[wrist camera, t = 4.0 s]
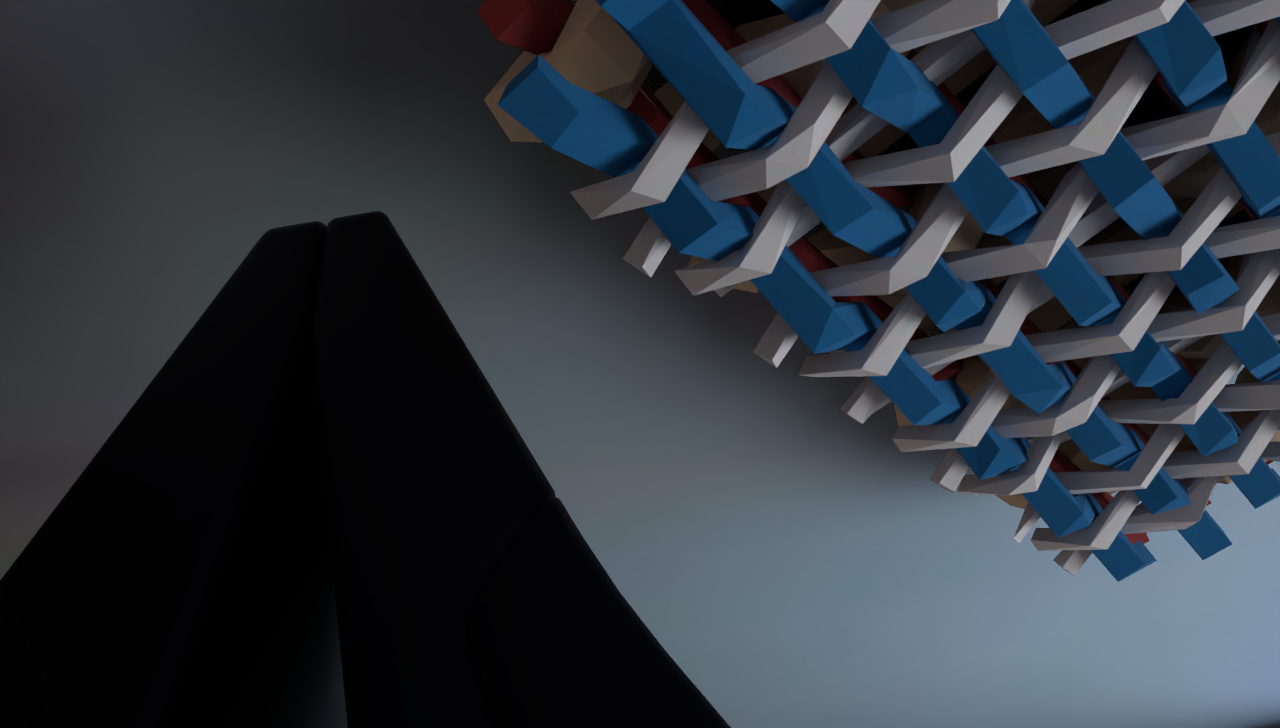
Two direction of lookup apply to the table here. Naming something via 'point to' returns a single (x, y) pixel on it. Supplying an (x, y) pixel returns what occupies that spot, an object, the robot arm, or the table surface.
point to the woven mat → (963, 225)
